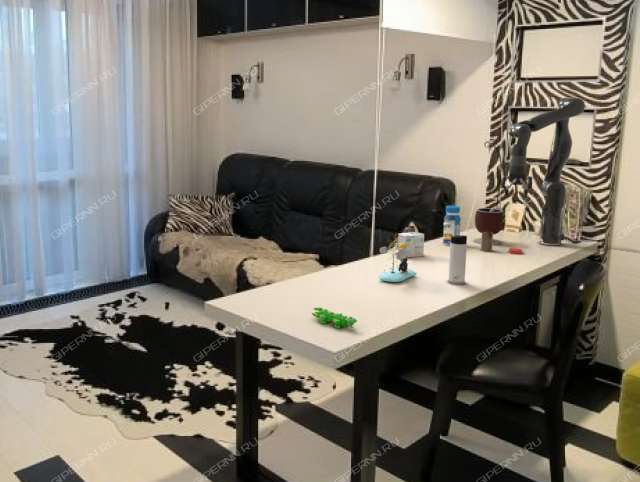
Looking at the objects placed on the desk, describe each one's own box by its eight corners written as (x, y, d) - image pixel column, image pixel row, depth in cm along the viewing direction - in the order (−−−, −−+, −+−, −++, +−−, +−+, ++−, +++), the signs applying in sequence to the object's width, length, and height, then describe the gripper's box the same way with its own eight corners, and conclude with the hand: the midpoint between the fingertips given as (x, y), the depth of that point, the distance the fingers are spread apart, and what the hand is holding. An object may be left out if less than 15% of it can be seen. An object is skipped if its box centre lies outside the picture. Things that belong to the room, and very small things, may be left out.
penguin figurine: (399, 271, 265) (400, 237, 263) (421, 275, 257) (422, 241, 255) (372, 280, 252) (373, 244, 249) (395, 285, 244) (396, 249, 241)
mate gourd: (470, 238, 327) (472, 202, 324) (497, 239, 325) (500, 202, 322) (477, 245, 312) (480, 207, 309) (506, 245, 310) (508, 207, 307)
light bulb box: (415, 252, 297) (416, 231, 295) (424, 256, 291) (425, 234, 289) (397, 254, 294) (397, 233, 292) (404, 257, 287) (405, 235, 286)
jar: (487, 248, 305) (488, 230, 303) (494, 250, 300) (495, 232, 298) (478, 249, 303) (479, 231, 301) (485, 251, 298) (487, 233, 297)
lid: (508, 253, 295) (508, 250, 295) (509, 250, 300) (509, 247, 300) (521, 254, 292) (522, 251, 292) (522, 251, 297) (522, 248, 297)
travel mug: (457, 285, 243) (460, 237, 240) (445, 281, 249) (447, 234, 245) (468, 283, 246) (471, 235, 243) (456, 279, 252) (458, 232, 248)
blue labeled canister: (462, 246, 310) (464, 207, 307) (445, 246, 311) (447, 207, 307) (456, 242, 319) (458, 205, 316) (440, 242, 319) (442, 205, 316)
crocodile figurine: (350, 333, 194) (350, 320, 193) (306, 319, 206) (306, 307, 206) (362, 327, 198) (362, 315, 197) (318, 314, 211) (319, 302, 210)
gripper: (530, 163, 302) (527, 195, 305) (500, 163, 304) (498, 195, 307) (535, 165, 295) (533, 198, 298) (505, 165, 297) (503, 197, 299)
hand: (515, 196), depth 302 cm, fingers open, 8 cm apart
